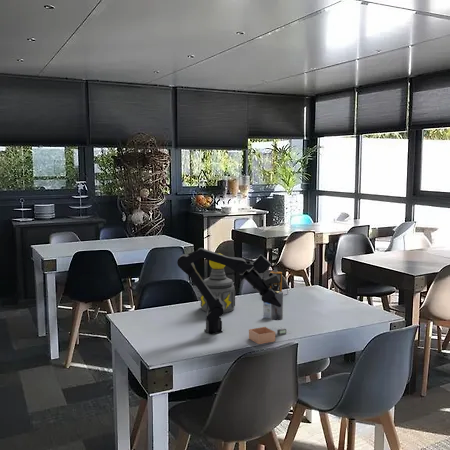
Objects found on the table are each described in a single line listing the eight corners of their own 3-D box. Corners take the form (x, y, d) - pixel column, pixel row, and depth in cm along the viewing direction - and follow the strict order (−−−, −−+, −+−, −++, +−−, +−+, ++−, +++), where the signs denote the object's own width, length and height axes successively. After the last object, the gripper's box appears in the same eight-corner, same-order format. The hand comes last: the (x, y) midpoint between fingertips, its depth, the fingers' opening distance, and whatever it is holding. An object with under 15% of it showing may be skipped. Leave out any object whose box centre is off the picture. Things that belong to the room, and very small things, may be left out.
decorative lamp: (242, 310, 261) (242, 253, 258) (212, 315, 250) (212, 257, 247) (222, 302, 276) (222, 249, 273) (193, 307, 265) (193, 252, 262)
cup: (258, 345, 206) (258, 334, 206) (248, 339, 213) (248, 329, 213) (275, 342, 210) (275, 331, 209) (265, 336, 217) (265, 326, 217)
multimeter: (262, 296, 290) (262, 262, 288) (263, 292, 300) (264, 260, 298) (287, 297, 287) (287, 263, 285) (288, 293, 297) (288, 260, 295)
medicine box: (271, 314, 252) (272, 297, 251) (279, 316, 249) (279, 299, 248) (263, 317, 246) (263, 300, 245) (270, 319, 243) (270, 302, 242)
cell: (275, 320, 219) (275, 293, 218) (268, 318, 224) (269, 290, 222) (284, 319, 221) (285, 292, 220) (278, 316, 226) (278, 289, 225)
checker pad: (273, 337, 216) (273, 331, 216) (261, 330, 225) (261, 325, 225) (292, 333, 221) (292, 328, 221) (279, 327, 230) (279, 322, 230)
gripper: (269, 272, 211) (295, 297, 212) (267, 264, 230) (290, 287, 230) (251, 290, 212) (276, 315, 213) (250, 280, 231) (273, 304, 231)
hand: (280, 304), depth 222 cm, fingers closed on cell, 5 cm apart
